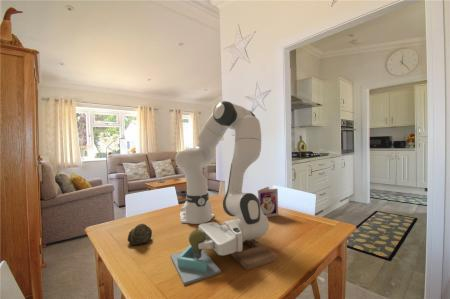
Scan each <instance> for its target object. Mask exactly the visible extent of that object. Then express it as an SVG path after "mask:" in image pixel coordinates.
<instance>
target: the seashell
mask: <svg viewBox="0 0 450 299" xmlns="http://www.w3.org/2000/svg"><path fill="white" fill-rule="evenodd" d="M152 236H153V230H152V229H151V227H150V226H147V224H144V223H139V224H137V225H136V226H135V227H134V228H132V229H131V230H130V231H129V232H128V236H127V242H128V243H129V244H130V245H142V244H147V243H149V242H150V241H151V238H152Z"/></svg>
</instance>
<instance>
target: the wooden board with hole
mask: <svg viewBox="0 0 450 299" xmlns="http://www.w3.org/2000/svg"><path fill="white" fill-rule="evenodd" d="M244 244H247V245H249V246H250V248H247V249H244V250H242V251H240V252H237V251H236V252H234V253H231V254H230V256H231V257H232V258H233V259H235V261H237V263H238V264H240V265H241V266H242V267H243V268H244V269H245V270H246V271H249V270H252V269H255V268H258V267H260V266H263V265H266V264H268V263H271V262H274V261H275V262H276V261H277V254H276V253H275V252H273V251H272V250H270V249H269V248H268V247H266V246H264V245H263V244H261V243H260V242H259V241H257V240H256V239H253V240H250V241H247V240H246V241H244V242H243V245H244Z"/></svg>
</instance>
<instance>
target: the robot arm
mask: <svg viewBox="0 0 450 299" xmlns="http://www.w3.org/2000/svg"><path fill="white" fill-rule="evenodd" d="M228 129H230V130H234V133H235V134H234V148H233V154H232V155H233V156H232V159H231V164H230V170H229V176H228V184H227V190H226V193H225V194H224V197H223V200H222V207H223V208H222V209H223V211H224V212H225V213H226V215H228V216H230V217H235V218H233V219H230V220H224V221H222V223H221V224H220V223H218V222H215V221H211V220H212V219H213V218H215V214H214V213H213V208H212V202H211V201H210V200H209V199H210V194H209V192H208V179H207V177H206V176H205V175H204V174H203V171H202V168H203V167H204V168H205V167H207V166H209V165H211V164H212V163H213V162H214V160H215V151H216V148H217V145H218V144H219V143H220V141H221V140H222V138H223V136H224V135H225V134H226V132H227V130H228ZM197 140H198V143H197V145H196V146H195V147H188V148H183V149H181V150H178V152H177V153H176V154H175V158H174V159H175V160H174V161H175V163H176V166H177V167H178V168H179V169H180V170H181V171H182V173H183V176H184V177H185V183H186V196H185V202H184V203H183V206H181V207H180V212H179V218H180V222H181V224H191V225H198V224H199V225H198V226H197V227H198V229H197V230H201V231H202V232H203V233H204V235H205V242H198V243H197V247H198V248H199V249H203V250H204V249H210V250H211V249H212V250H214V251H215V253H216V254H217V255H218V256H227V255H231V253H234V252H236V251H237V252H240V251H243V248H244V247H243V246H244V244H243V242H244V241H246V240H247V241H250V240H253V239H254V240H256V239H258V238H259V239H260V238H261V237H263V236H264V235H266V234H267V233H268V231H269V229H270V222H269V219H268V217H266V216H265V215H264V214H263V212H262V210H261V208H260V202H259V200H258V196H257V195H256V194H254V193H251V192H243V183H244V177H245V176H244V175H245V173H246V170H248V168H249V167H250V166H251V165H252V164H254V163H255V162H256V161H257V160H258V159H259V158H260V155H261V152H262V128H261V124H260V120H259V118H258V117H256V115H255V114H254V113H253V112H252V111H251V110H248V109H247V108H245V107H243V106H241V105H238V104H235V103H232V102H231V101H226V100H221V101H220V102H218V103H217V104H216V105H215V106H214V108H213V112H212V113H211V114H210V116H209V117H208V118H207V120H206V121H205V123H204V124H203V126H202V127H201V129H200V131H199V133H198V134H197ZM210 221H211V222H210Z"/></svg>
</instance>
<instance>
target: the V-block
mask: <svg viewBox="0 0 450 299" xmlns="http://www.w3.org/2000/svg"><path fill="white" fill-rule="evenodd" d="M169 255H170V256H169V257H170V259H171V261H172V263H173V265H174V267H175V269H176V272H177V274H178V276H179V278H180V279H181V281H182V284H183V286H186V285H189V284H190V285H191V284H192V283H195V282H198V281H201V280H203V279H207V278H210V277H213V276H215V275H218V274H221V273H222V271H221V269H220V268H219V266H218V265H217V264H216V263H215V262H214V261H213V259H212V258H211V257H210V256H209V255H208V253H207V251H205V249H204V248H203V249H202V251H201V257H200V258H199V259H196V258H195V256H194V251H193V248H192V246H191V244H190V243H189V245H188V246H187V247H186V248H185V249H184V250H183V251H180V252H176V253H175V252H174V253H172V254H169Z"/></svg>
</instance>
